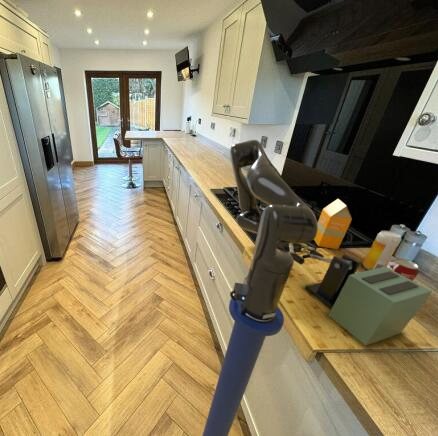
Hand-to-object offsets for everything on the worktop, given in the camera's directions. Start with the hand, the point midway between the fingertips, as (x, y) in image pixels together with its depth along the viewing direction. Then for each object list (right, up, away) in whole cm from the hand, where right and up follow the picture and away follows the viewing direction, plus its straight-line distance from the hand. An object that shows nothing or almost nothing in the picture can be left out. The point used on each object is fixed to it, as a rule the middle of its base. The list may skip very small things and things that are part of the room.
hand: (312, 260), depth 79 cm
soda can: (+24, -11, 0) cm, 27 cm away
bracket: (+2, -11, -4) cm, 12 cm away
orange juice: (+24, +3, +27) cm, 37 cm away
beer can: (+31, -5, +11) cm, 33 cm away
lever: (+1, 0, -4) cm, 5 cm away
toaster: (+5, -16, -13) cm, 21 cm away
